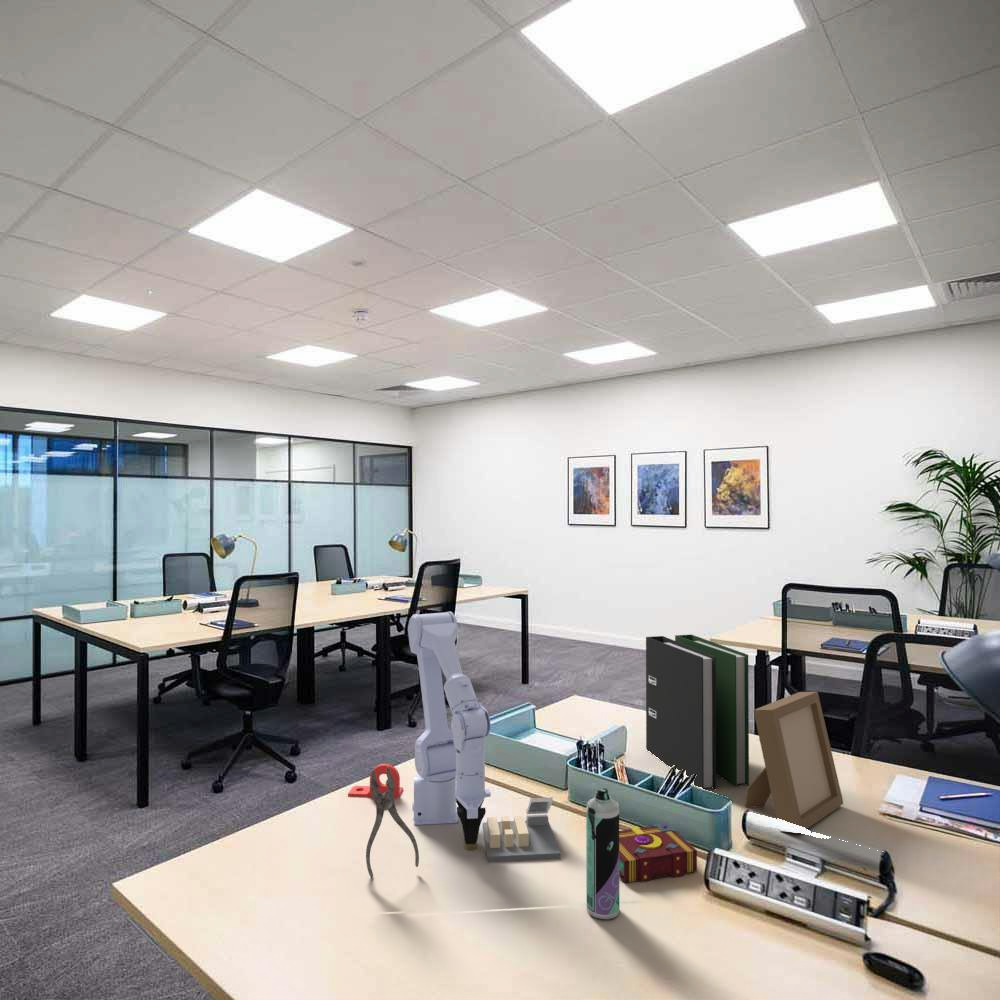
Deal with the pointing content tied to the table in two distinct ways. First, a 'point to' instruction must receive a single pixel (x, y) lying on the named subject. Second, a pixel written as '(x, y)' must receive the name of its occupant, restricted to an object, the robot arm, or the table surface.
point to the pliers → (383, 803)
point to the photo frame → (795, 761)
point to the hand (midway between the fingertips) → (470, 838)
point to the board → (524, 853)
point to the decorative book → (654, 853)
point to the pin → (470, 846)
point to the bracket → (382, 787)
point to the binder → (698, 708)
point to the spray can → (602, 856)
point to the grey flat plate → (539, 805)
